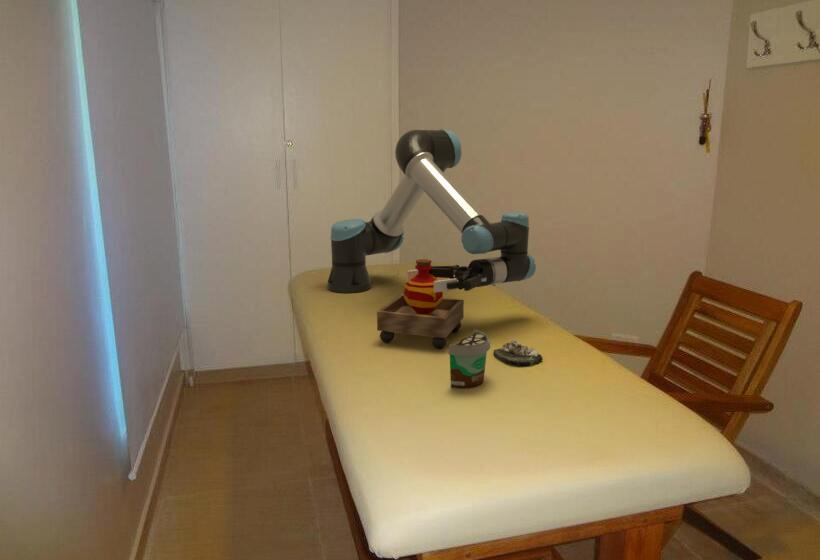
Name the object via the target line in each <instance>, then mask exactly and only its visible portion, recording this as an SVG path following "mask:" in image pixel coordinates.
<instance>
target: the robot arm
mask: <svg viewBox="0 0 820 560" xmlns="http://www.w3.org/2000/svg"><path fill="white" fill-rule="evenodd" d="M394 150H395V151H394V152H395V154H394V155H395V160H396V163H397V165H398V167H399V169H400V170H401V172H402V173H403V174H404V175H403V176H402V178H401V180H400V181H399V183H398V184H397V186H396V187H395V189H394V191H393V193H392V194H391V196H390V197H389V198H388V200H387V202H386V203H385V205H384V207H383V208H382V210H378V211H377V212H375V213H374V214H373V216H372V217H371V219H370V220H369V221H365V220H364V219H361V218H349V219H343V220H340V221H336V222H335V223H333V224H332V226H331V228H330V229H331V230H330V240H331V241H330V242H331V243H330V244H331V247H330V248H331V249H330V250H331V268H330V273H329V276H328V280H327V290H328V291H331V292H334V293H339V294H340V293H344V294H345V293H346V294H347V293H349V294H350V293H353V294H355V293H362V292H365V291H368V290H370V289H371V288H372V281H371V277H370V274H369V271H368V268H367V265H366V264H367V263H366V261H367V260H366V259H367V258H366V256H372V255H379V254H387V253H391V252H394V251H396V250H398V249H399V248H400V247H401V246H402V244H403V242H404V236H405V231H404V229H405V228H404V223H405V222H406V220H407V218H408V217H409V216H410V214H411V212H412V211H413V210H414V209H415V206H416V205H417V204H418V203H419V201H420V200H421V198H422V196H423V195H424V194H426V195H427V196H428V197H429V198H430V200H432V201H433V203H434V204H435V205H436V206H437V207H438V209H440V211H441V212H442V213H443V214H444V216H446V217H447V219H448V220H449V221H450V222H451V223H452V225H454V227H455V228H456V229H457V230H458V231H459V233H460V234H461V239H460V240H461V243H462V245H463V246H462V248H463V249H464V250H465V251H466V252H467V253H469V254H470V255H471V254H472V255H483V254H487V253H490V252H495V251H500V256H493V257H486V258H479V259H473V260H471V261H470V263H469V264H468V266H467V265H466V266H465V265H464V266H463V265H462V266H460V265H459V264H456V265H455V264H454V265H431V266H432V269H430V270H429V274H431V275H432V276H434V277H436V278H437V279H438V278H440V279H441V280H438V281H434V292H435V293H436V292H448V291H454V290H456V291H457V289H458V290H460V291H461V290H463V289H464V290H463V291H466V292H469V291H471V290H472V289H473V290H474V289H476V288H479V287H480V288H482V287H488V286H492V287H496V285H497V284H498V285H499V284H505V283H515V282H521V281H525V280H528V279H531V278H532V277H533V276H534V275H535V273H536V270H537V264H536V263H535V258H534V257H533V255H531V254H529V252H528V250H529V249H528V248H529V234H530V233H529V232H530V231H529V230H530V225H529V219H530V218H529V215H528V214H526V213H524V212H518V211H517V212H513V211H511V212H510V211H509V212H504V213H503V214H502V215H501V220H500V221H497V222H492V223H491V222H489V220H488V219H487V218H486V217H485V216H484V215H483V214H482V212H480V211H479V210H478V208H476V206H475V205H474V204H473V203H472V202H471V200H469V199H468V197H466V195H464V193H463V192H462V191H461V190H460V189H459V187H457V185H456V184H454V182H453V181H452V180H451V179H450V178H449V177H448V175H446V173H445V171H446V170H447V169H452V168H454V167H456V166H457V165H458V164H459V163H460V161H461V159H462V144H461V141H460V139H459V138H458V135H456V134H455V133H454V132H453V131H451V130H445V129H413V130H409V131H407V132H406V133H404V134H403V135H401V137H399V139H398V141H397V143H396V146H395V149H394ZM417 274H418V270H417V269H411V270H406V282H407V281H408V280H409V279H411V278H413V277H415V275H417ZM431 275H430V276H431ZM434 277H433V278H434ZM442 279H443V280H442Z"/></svg>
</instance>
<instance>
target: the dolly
mask: <svg viewBox="0 0 820 560" xmlns="http://www.w3.org/2000/svg"><path fill="white" fill-rule="evenodd" d="M464 303H465V300H464V299H456V298H447V297H443V298H442V301H441V302H440V303H439V305H438V307H437V309H436V310H434V311H433V312H432V313H431V314H432V316H426V315H417V314H415V313H416V312H415V311H414V310H413V309H412V308H411V307H410V306H409V304H408V303H407V302H406V301H405V299H404V295H403V293H402V294H399V295H397V297H396V298H394V299H392V300H391V301H390V302H389V303H387V304H386V305H384V306H383V307H382V308H380V309H378V310H377V312H376V319H377V320H376V323H377V324H376V326H377V327H376V330H377V331H380V334H379V338H380V340H381V342H383V343H384V344H390V343H391V342H393V341H394V339H395V338H396V333H397V334H406V335H412V336H413V335H415V336H422V337H431V338H432V339H431V344H432V346H433V348H434V349H436V350H443V349H444V348H446V346H447V345H448V338H447V337H448V336H449V335H450V334H451V333H457V332H459V331H460V330H461V329H462V322H461V321H462V320H463V319H464V311H465V309H464V307H465V305H464Z"/></svg>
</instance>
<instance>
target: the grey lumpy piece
mask: <svg viewBox="0 0 820 560" xmlns="http://www.w3.org/2000/svg"><path fill="white" fill-rule="evenodd" d="M492 354H493V355H492V356H493V357H494V358H495V359H496V360H497V361H500V362H501V363H504V364H505V365H507V366H512V367H518V368H527V367H528V368H529V367H530V368H531V367H533V366H536V365H539V364H542V363H543V356H542V355H541V354H539V351H538V350H536V349H534V348H533V347H528V345H525V344H521V343H520V342H517V340H516V339H512V340H510V341H509V342H505V343H504V344H503V345H502V347H501V348H497V349H494V350H493V353H492Z"/></svg>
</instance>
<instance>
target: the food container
mask: <svg viewBox="0 0 820 560" xmlns="http://www.w3.org/2000/svg"><path fill="white" fill-rule="evenodd" d="M472 331H473V332H472V334H471V335H469V336H468V337H464V338H462V339H461V340H459V341H458V342H457V343H456V344H452V343H451V344H449V347H448V352H447V355H449V368H450V369H449V371H450V372H449V373H450V375H449V376H450V388H453V389H457V390H459V389H460V390H470V389H475V388H479V387H480V386H483V384H484V381H485V371H486V361H487V352H489V350H490V349H491V343H490V338H489V336H488V334H486V333H485V332H484V331H480V330H478V329H473V330H472Z"/></svg>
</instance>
